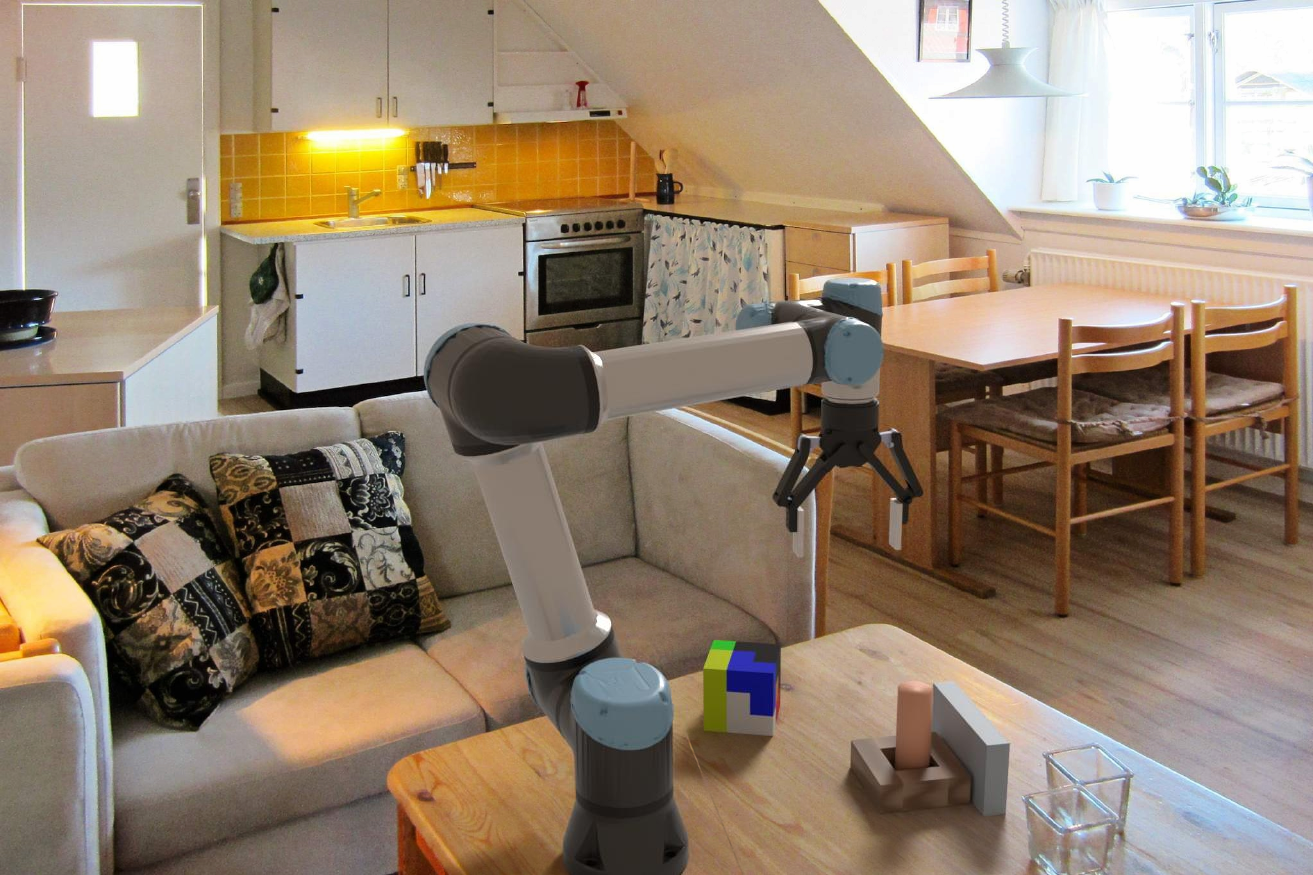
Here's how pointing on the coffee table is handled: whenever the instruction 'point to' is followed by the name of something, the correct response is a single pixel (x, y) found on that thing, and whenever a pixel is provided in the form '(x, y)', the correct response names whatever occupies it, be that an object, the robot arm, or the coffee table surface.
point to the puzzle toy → (742, 687)
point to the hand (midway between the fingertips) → (846, 550)
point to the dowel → (913, 725)
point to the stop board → (973, 746)
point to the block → (909, 776)
